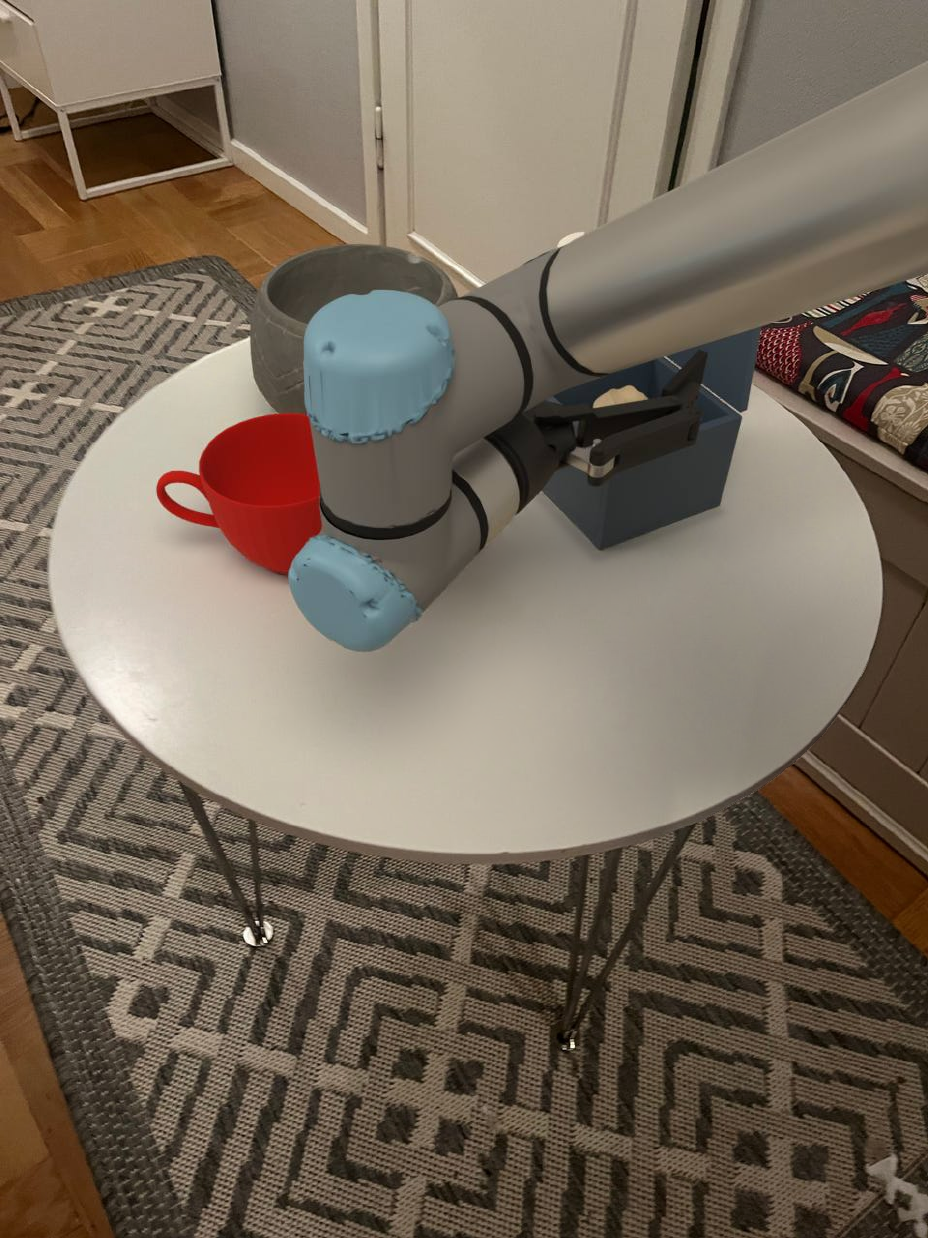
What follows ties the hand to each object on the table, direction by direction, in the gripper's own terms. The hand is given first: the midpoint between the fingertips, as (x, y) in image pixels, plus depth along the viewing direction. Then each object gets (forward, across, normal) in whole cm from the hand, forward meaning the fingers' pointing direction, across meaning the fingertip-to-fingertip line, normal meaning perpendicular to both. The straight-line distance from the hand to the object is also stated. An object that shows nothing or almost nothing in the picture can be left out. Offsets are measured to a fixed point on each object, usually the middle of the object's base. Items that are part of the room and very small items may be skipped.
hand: (621, 341), depth 76 cm
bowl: (0, -27, -18) cm, 32 cm away
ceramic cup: (-21, -22, -18) cm, 35 cm away
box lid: (+9, +3, 0) cm, 10 cm away
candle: (+3, 0, -17) cm, 17 cm away
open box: (+4, 0, -18) cm, 18 cm away
